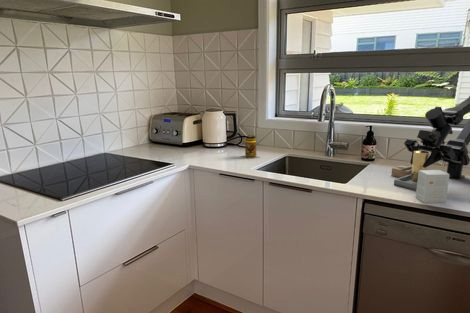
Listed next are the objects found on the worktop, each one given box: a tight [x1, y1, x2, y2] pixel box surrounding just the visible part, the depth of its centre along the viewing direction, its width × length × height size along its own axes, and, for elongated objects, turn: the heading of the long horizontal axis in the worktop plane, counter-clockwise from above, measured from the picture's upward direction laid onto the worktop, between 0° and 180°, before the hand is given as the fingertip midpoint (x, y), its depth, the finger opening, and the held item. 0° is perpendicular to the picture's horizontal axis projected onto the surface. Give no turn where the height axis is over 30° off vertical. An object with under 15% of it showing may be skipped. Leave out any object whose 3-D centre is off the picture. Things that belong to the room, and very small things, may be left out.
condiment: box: [241, 134, 259, 160], centre depth 185 cm, size 7×8×12 cm
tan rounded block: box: [390, 164, 412, 178], centre depth 148 cm, size 9×7×5 cm
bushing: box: [411, 150, 429, 182], centre depth 134 cm, size 5×5×12 cm
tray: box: [393, 174, 417, 191], centre depth 136 cm, size 12×12×2 cm
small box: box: [415, 169, 450, 204], centre depth 119 cm, size 8×6×10 cm
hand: (417, 165), depth 133 cm, fingers closed on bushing, 5 cm apart
